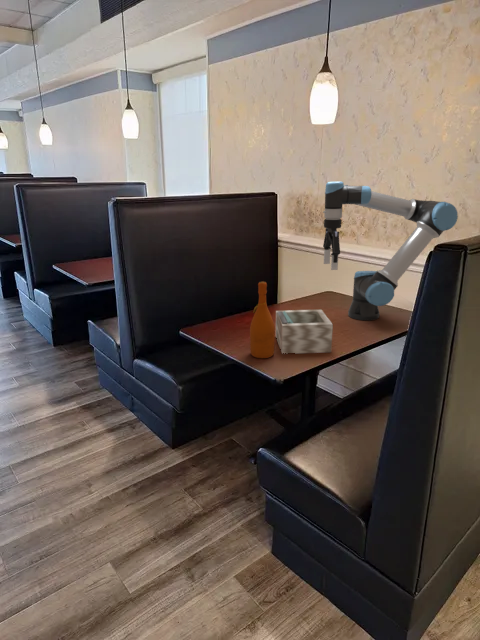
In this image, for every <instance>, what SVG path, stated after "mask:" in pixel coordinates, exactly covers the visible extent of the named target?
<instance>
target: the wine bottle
mask: <svg viewBox="0 0 480 640" xmlns="http://www.w3.org/2000/svg"><path fill="white" fill-rule="evenodd" d="M257 286H258V287H257V288H258V289H257V290H258V291H257V293H258V303H257V305H256V306H254V308H253V312H252V313H253V317H252V318H251V322H250V327H249V344H250V345H249V346H250V347H249V349H250V350H249V351H250V355H251V356H252V357H254V358H257V359H268V358H271V357H273V356H274V354H275V344H276V343H275V342H276V341H275V340H276V326H275V322H274V320H273V317H272V314H271V312H270V310H269V308H268V304H267V292H268V290H267V287H268V284H267V282H266V281H259V282H258V284H257Z"/></svg>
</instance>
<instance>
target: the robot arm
mask: <svg viewBox="0 0 480 640" xmlns="http://www.w3.org/2000/svg"><path fill="white" fill-rule="evenodd" d="M343 205H354V206H355V205H356V206H360V207H363V208H368V209H372V210H376V211H381V212H385V213H389V214H392V215H395V216H402V217H404V220H407V221H411V222H414V223H416V227H415V229H414V230H413V231H412V233H411V234H409V235H410V236H408V238H407V239H406V240H405V241H404V242H403V244H402V245H401V246H400V247H399V248H398V250H397V251H396V252H395V254H394V255H393V256H391V258H390V260H389V261H388V262H387V263H386V264H385V266H384V267H383V268H382V269H380V270H359V271H356V272H354V276H353V290H352V301H351V304H350V306H349V309H348V311H347V312H348V313H347V315H348V317H350V318H351V319H355V320H359V321H375V320H377V319H379V318H380V310H379V309H380V308H379V307H382V306H386V305H388V304H389V303H390V302H391V301H392V300H393V299H394V297H395V290H396V289H397V288H398V286H399V283H398V281H399V280H400V278H401V277H402V276H403V275H405V273H406V272H407V270H409V268H410V267H411V265H412V264H413V263H414V262H415V260H417V259H418V257H419V256H420V254H422V252H423V251H424V250H425V249H426V248H427V246H428V245H429V244H430V243H431V241H432V240H433V239H435V238H436V239H437V238H439V237H440V236H441V235H442V234H443V232H445V231H448V230H450V229H452V228H453V227H454V226H455V225H456V223H457V221H458V217H459V216H458V214H459V213H458V210H457V208H456V206H455V205H454V204H452V203H450V202H447V201H436V200H419V199H415V198H412V199H410V200H409V199H406V198H405V199H404V198H401V197H396V196H393V195H389V194H386V193H382V192H377V191H372V189H371V187H370V186H369V185H348V184H344V182H343V181H328V182H326V183H325V191H324V210H323V212H322V213H323V215H324V216H323V217H324V218H325V219H323V228H324V229H325V231H324V232H325V233H324V238H323V239H324V240H323V244H322V247H323V249H324V250H323V264H324V265H330V264H331V265H330V266H331V267H330V271H338V268H339V255H340V254H341V248H340V247H341V246H340V231H337V229H341V227H342V222H343V221H342V217H343ZM331 250H332V251H331Z"/></svg>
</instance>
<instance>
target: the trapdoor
mask: <svg viewBox="0 0 480 640" xmlns="http://www.w3.org/2000/svg"><path fill="white" fill-rule="evenodd" d="M283 311H284V312H283V314H284V316H285V318H286V320H287V322H288V323H289V324H292V323H293V321H292V320H291V319H290V317H289V316H288V315H287V313H286V312H285V311H286V310H283Z"/></svg>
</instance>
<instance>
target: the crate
mask: <svg viewBox="0 0 480 640" xmlns="http://www.w3.org/2000/svg"><path fill="white" fill-rule="evenodd" d="M284 311H285V312H286V313H287V315H288V316H289V317H290V319H291V320H292V321H293V323H292V324H289V323H288V322H287V320H286V318H285V316H284V314H283V312H284ZM276 338H277V339H276ZM275 339H276V341H277V344H278V347H279V350H280V349H281V350H280V352H281V354H282V355H289V354H288V353H295V354H317V353H318V354H319V353H332V345H333V344H332V343H333V323H332V321H331V320H330V318H328V317H327V315H326V313H325V312H324V310H322V308H321V309H295V310H294V309H292V310H291V309H290V310H289V309H288V310H275ZM283 353H284V354H283ZM285 353H286V354H285Z"/></svg>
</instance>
